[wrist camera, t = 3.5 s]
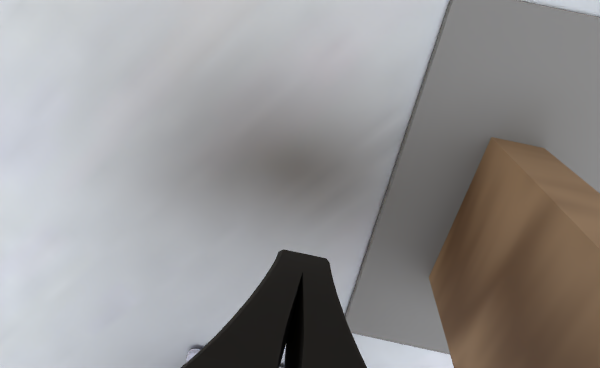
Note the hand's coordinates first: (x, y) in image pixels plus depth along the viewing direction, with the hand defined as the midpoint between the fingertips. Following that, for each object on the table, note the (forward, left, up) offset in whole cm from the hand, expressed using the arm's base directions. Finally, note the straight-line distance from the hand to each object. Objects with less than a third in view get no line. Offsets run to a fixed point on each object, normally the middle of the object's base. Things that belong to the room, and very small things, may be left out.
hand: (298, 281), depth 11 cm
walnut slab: (0, -7, -6) cm, 9 cm away
